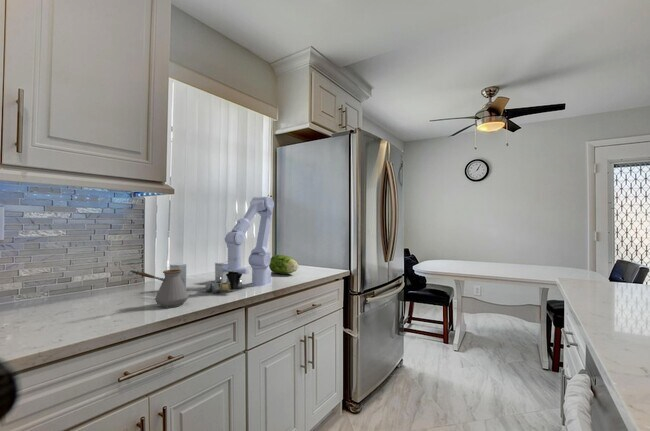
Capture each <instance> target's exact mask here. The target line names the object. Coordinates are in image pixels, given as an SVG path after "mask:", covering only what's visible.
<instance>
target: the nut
mask: <svg viewBox="0 0 650 431" xmlns="http://www.w3.org/2000/svg"><path fill="white" fill-rule="evenodd" d="M229 290H231V285H230V283H229V282H224V283H220V291H229Z"/></svg>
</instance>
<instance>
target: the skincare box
mask: <svg viewBox="0 0 650 431" xmlns="http://www.w3.org/2000/svg"><path fill="white" fill-rule="evenodd" d="M169 270H182V271H181V272H180V278H181V280H182V282H183V284H184V286H185V289H186V290H187V264H186V263H172V264H170V265H169Z"/></svg>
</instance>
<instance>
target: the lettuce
mask: <svg viewBox="0 0 650 431" xmlns="http://www.w3.org/2000/svg"><path fill="white" fill-rule="evenodd" d="M270 259H271V262H270V265H269V266H268V267H269V268H270V270H271V273H274V274H278V273H279V274H280V275H288V274H292V273H295V272H297V271H298V269H299V264H298V262H297V261H296V260H295V259H294V258H293V257H291V256H287V255H284V254H274V255H273V256H271V257H270ZM279 274H278V275H279Z"/></svg>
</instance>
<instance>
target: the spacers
mask: <svg viewBox="0 0 650 431" xmlns="http://www.w3.org/2000/svg"><path fill="white" fill-rule="evenodd" d="M227 282H229V279H228V278H227ZM220 283H222V277H216V282H214V283H213V282H212V281H209V282H205V288H206V294H211V293H210V292H213V293H214V294H213V295H219V294H218V293H220ZM229 283H230V282H229ZM242 288H243V280H242V279H241V278H240V280H239V282H238V286H237V289H242ZM242 290H243V289H242Z"/></svg>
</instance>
